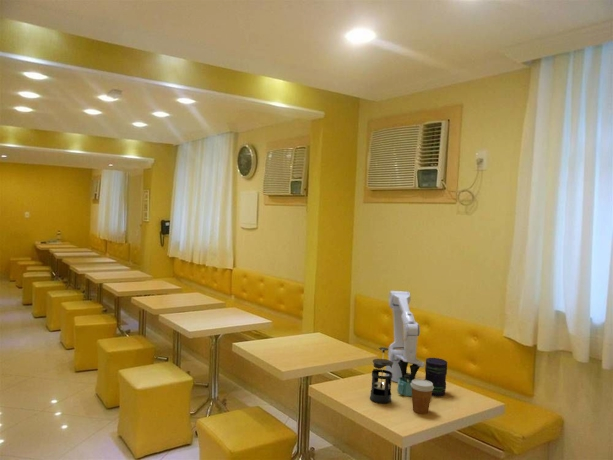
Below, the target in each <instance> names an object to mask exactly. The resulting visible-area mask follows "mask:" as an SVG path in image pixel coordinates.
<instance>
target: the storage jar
mask: <svg viewBox="0 0 613 460" xmlns="http://www.w3.org/2000/svg"><path fill="white" fill-rule="evenodd" d="M424 367H425V368H424V372H425V377H424V380H427V381H430V382H432V383H433V386H434V389H433V390H432V395H431V397H435V398H439V397H444V396H446V390H447V382H446V379H447V374H448V361H447V360H445V359H442V358H437V357H427V358H426V359H425V364H424Z"/></svg>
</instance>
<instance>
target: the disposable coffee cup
mask: <svg viewBox="0 0 613 460" xmlns="http://www.w3.org/2000/svg"><path fill="white" fill-rule="evenodd" d="M411 387H412V396H411V398H412V399H411V402H412V411H413V412H415V413H416V414H419V415H420V414H421V415H425V414H428V413H429V411H430V410H429V409H430V403H431V399H432V396H431V395H432V390H433V389H434V386H433V383H432V382H430V381H427V380H425V379H422V378H415V379H414V380H412V382H411Z"/></svg>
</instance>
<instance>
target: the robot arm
mask: <svg viewBox="0 0 613 460" xmlns="http://www.w3.org/2000/svg"><path fill="white" fill-rule="evenodd" d="M410 303H411V293H410V291H400V290H390V292H389V295H388V305H389V308H390V309H392V318H393V341H392V343H390V345H388V349H389V350H387V351H388V353H387V357H388V360H390V361H392V362H393V365H392V368H391V367H390V366H385V370H387V371H390V372H392V374H393V375H392V378H391V382H395V383H398V378H400V377H403V378H404V373H408V372H407V370H408V365H409V364H410V365H409V368H410V373H411V380H414V379H416V375H417V373H418V371H419V369H420V368H424V367H425V362H424V361H421V360H420V359H417V349H418V347H417V346H418V337H419V336H420V332H421V328H420V324H419V323H418V322H417V321H416V320H415V317H414V312H412V311H410V306H409V305H410ZM384 376H389V374H387V373H384Z"/></svg>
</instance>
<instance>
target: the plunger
mask: <svg viewBox="0 0 613 460" xmlns="http://www.w3.org/2000/svg"><path fill="white" fill-rule="evenodd" d="M404 377H405V378H407V383H409V378H411V372H406V373H404Z"/></svg>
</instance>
